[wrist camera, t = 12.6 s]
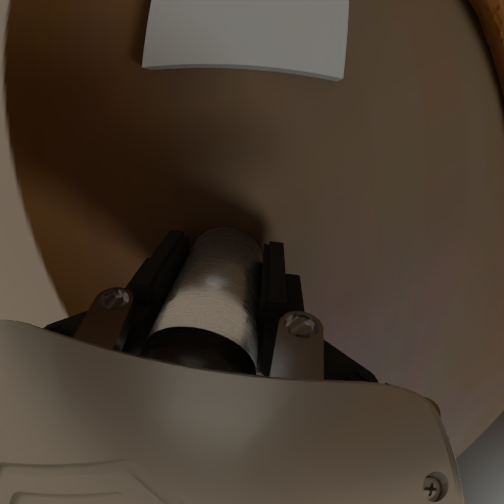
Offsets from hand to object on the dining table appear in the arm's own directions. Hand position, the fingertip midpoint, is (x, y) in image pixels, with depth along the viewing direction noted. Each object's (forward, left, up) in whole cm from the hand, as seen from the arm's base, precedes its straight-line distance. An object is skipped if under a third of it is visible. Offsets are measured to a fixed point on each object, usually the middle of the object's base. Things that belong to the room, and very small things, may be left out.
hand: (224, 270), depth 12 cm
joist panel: (+17, 0, -1) cm, 17 cm away
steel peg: (0, 0, -1) cm, 1 cm away
